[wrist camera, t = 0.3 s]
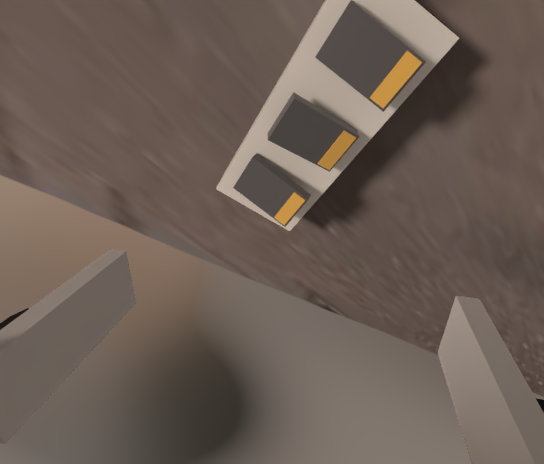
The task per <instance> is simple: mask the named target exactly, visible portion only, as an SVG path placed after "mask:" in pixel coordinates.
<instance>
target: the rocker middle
mask: <svg viewBox="0 0 544 464" xmlns="http://www.w3.org/2000/svg"><path fill="white" fill-rule="evenodd" d="M358 138H359V134H358V131H357V130H356V129H355V128H353V127H351V126H350V125H348V124H346V123H345V122H343V121H341V120H340V119H338V118H336V117H334V116H333V115H331V114H329V113H328V112H326V111H324V110H323V109H321V108H319V107H318V106H316V105H314V104H313V103H311V102H309V101H307V100H306V99H304V98H302V97H301V96H299V95H297V94H296V93H294V92H293V94H292V95H291V97H290V98H289V100H288V102H287V103H286V105H285V106H284V108H283V110H282V111H281V113H280V114H279V116H278V117H277V119H276V121H275V122H274V124H273V125H272V127H271V129H270V130H269V132H268V141H270V142H272V143H274V144H276V145H278V146H280V147H282V148H284V149H286V150H288V151H290V152H292V153H294V154H296V155H298V156H300V157H302V158H304V159H306V160H308V161H310V162H312V163H314V164H315V165H317V166H319V167H321V168H323V169H325V170H327V171H329V172H330V171H331V170H332V168H333V167H334V166H335V165H336V164H337V162H338V161H339V160H340V159H341V158H342V157H343V155H344V154H345V153H346V152H347V151H348V149H349V148H350V147H351V146H352V145H353V144H354V142H355V141H356V140H357V139H358Z"/></svg>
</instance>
